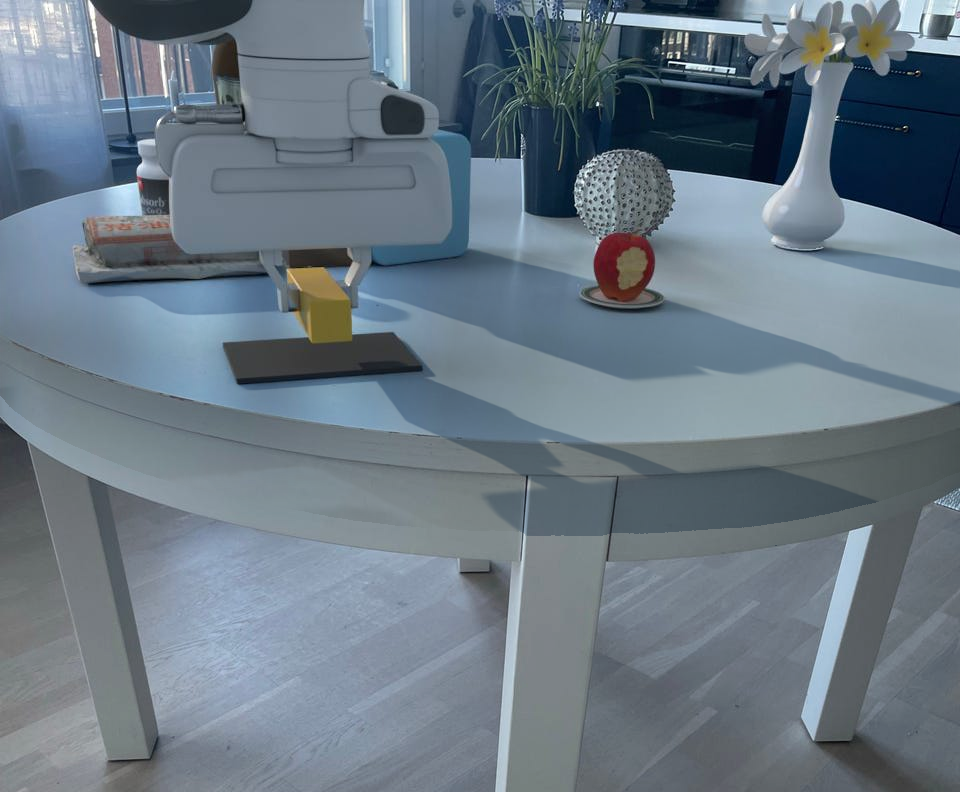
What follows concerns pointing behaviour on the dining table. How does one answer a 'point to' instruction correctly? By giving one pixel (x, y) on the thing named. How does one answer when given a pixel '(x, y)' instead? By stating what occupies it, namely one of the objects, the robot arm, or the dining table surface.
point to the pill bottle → (152, 181)
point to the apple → (623, 273)
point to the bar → (322, 305)
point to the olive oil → (226, 73)
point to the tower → (317, 257)
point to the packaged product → (149, 253)
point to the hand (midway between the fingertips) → (319, 308)
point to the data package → (458, 237)
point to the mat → (318, 358)
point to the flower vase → (821, 105)
